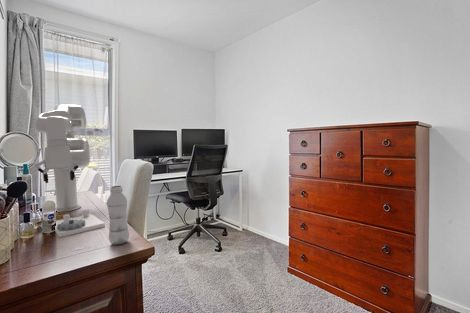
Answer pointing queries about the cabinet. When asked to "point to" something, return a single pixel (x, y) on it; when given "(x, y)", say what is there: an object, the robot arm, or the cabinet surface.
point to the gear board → (88, 225)
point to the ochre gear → (60, 215)
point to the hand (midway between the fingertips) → (59, 181)
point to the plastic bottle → (117, 216)
